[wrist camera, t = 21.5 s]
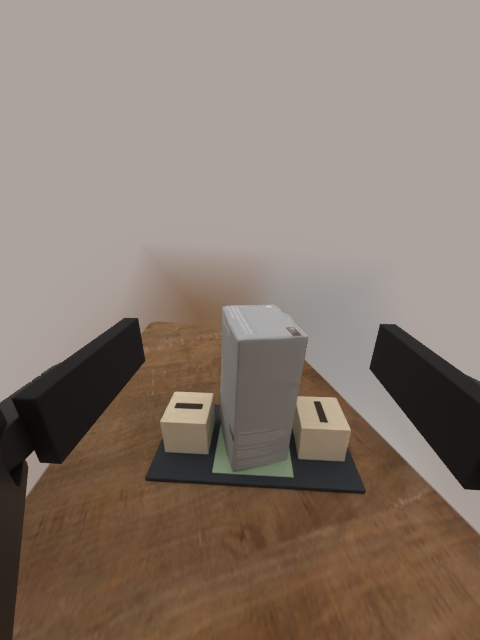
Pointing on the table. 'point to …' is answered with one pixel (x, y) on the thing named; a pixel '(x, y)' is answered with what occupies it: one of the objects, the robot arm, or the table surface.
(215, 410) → the dark base board
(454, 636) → the table surface
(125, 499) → the table surface
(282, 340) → the cosmetic box
